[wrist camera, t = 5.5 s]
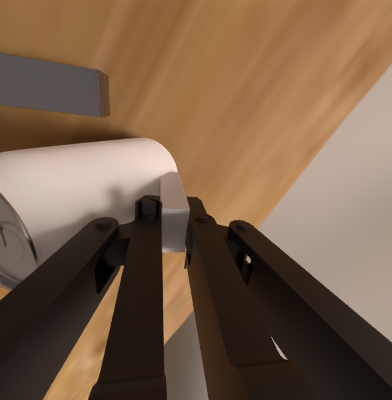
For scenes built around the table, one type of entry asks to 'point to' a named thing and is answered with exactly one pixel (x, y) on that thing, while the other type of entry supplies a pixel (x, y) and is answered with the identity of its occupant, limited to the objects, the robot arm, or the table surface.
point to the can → (70, 195)
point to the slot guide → (53, 86)
